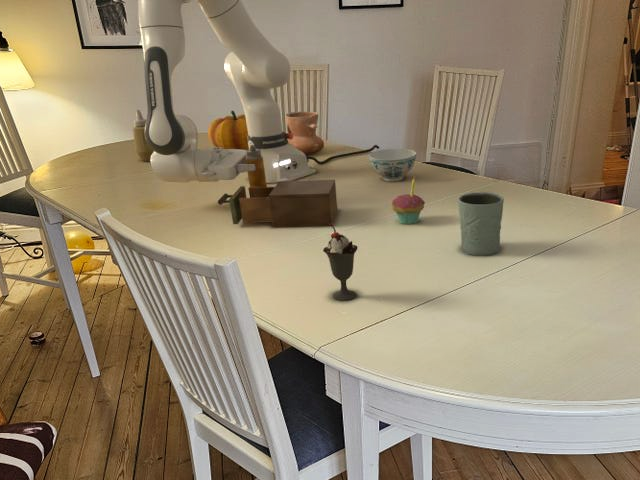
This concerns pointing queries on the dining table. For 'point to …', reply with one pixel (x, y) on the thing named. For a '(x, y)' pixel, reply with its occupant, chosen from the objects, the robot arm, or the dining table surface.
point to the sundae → (341, 263)
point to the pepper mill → (258, 175)
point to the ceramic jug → (304, 132)
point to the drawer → (249, 204)
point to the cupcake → (408, 206)
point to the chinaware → (392, 163)
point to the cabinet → (303, 203)
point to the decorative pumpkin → (229, 132)
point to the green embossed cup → (480, 222)
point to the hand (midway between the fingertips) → (258, 163)
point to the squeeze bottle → (141, 138)
